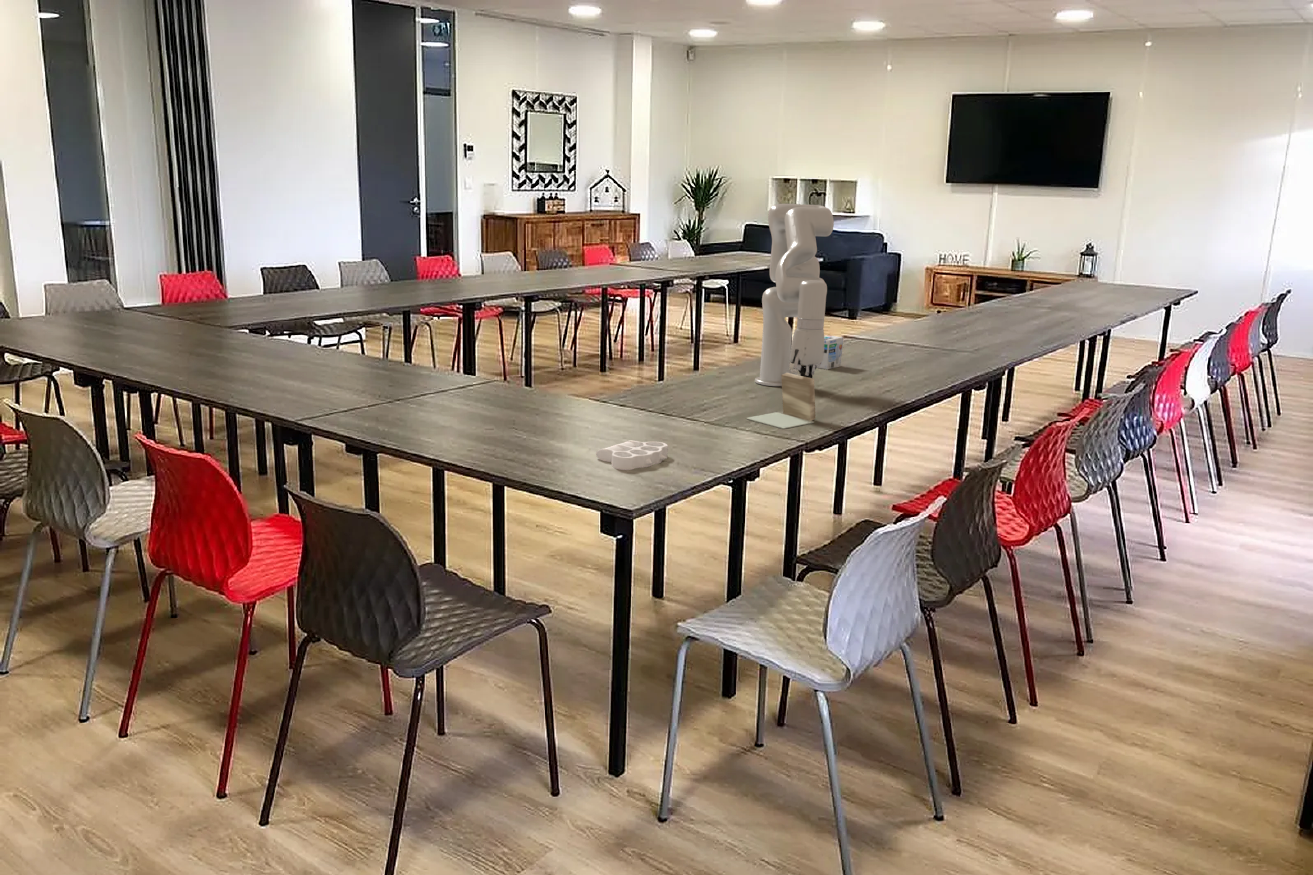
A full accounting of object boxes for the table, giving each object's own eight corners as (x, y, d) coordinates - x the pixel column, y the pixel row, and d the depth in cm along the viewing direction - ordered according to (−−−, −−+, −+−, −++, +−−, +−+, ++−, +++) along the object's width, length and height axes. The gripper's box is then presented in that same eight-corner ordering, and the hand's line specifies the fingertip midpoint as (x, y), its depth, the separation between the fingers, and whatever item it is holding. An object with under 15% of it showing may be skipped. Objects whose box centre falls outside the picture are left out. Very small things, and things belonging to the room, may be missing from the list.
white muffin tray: (632, 448, 265) (681, 460, 257) (587, 463, 251) (636, 475, 242) (633, 435, 264) (681, 446, 256) (587, 449, 250) (637, 461, 242)
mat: (776, 413, 308) (776, 412, 308) (813, 422, 298) (813, 421, 298) (745, 418, 299) (745, 417, 299) (783, 429, 289) (783, 428, 289)
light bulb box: (827, 369, 378) (829, 340, 376) (810, 367, 382) (813, 337, 379) (841, 366, 387) (844, 336, 384) (825, 363, 390) (827, 334, 388)
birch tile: (788, 411, 308) (786, 372, 304) (815, 418, 301) (814, 378, 297) (783, 414, 307) (781, 374, 303) (810, 421, 300) (808, 381, 296)
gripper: (816, 321, 306) (811, 383, 311) (782, 324, 296) (778, 389, 301) (837, 324, 301) (832, 387, 306) (803, 328, 291) (798, 393, 296)
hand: (805, 388), depth 303 cm, fingers closed
